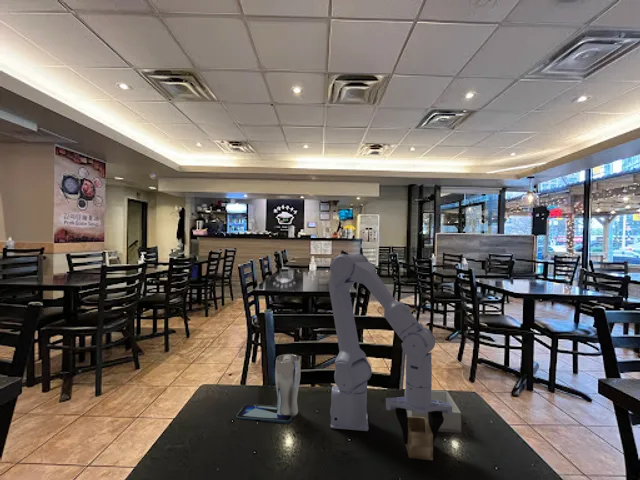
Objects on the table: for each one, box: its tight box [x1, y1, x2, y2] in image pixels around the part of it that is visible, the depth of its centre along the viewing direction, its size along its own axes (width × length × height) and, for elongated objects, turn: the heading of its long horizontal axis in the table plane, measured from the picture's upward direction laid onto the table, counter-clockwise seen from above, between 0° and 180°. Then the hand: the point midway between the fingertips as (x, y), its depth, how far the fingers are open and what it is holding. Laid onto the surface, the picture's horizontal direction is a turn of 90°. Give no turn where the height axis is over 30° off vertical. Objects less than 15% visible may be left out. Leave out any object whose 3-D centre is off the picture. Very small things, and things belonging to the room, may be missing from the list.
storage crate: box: [404, 387, 462, 434], centre depth 85 cm, size 12×12×5 cm
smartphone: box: [235, 404, 294, 424], centre depth 86 cm, size 7×1×15 cm
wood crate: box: [405, 415, 434, 461], centre depth 72 cm, size 5×7×6 cm
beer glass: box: [274, 353, 301, 418], centre depth 86 cm, size 7×7×15 cm
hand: (417, 442), depth 72 cm, fingers closed on wood crate, 5 cm apart
